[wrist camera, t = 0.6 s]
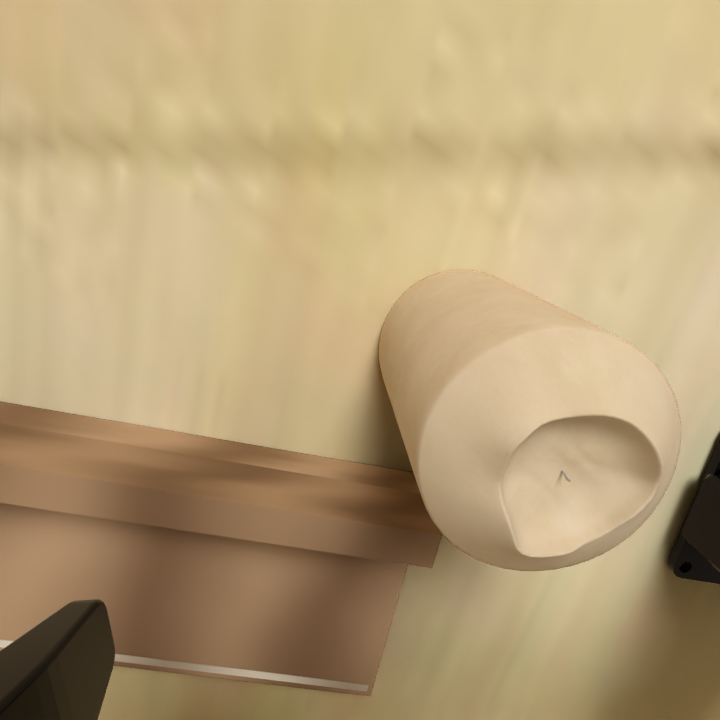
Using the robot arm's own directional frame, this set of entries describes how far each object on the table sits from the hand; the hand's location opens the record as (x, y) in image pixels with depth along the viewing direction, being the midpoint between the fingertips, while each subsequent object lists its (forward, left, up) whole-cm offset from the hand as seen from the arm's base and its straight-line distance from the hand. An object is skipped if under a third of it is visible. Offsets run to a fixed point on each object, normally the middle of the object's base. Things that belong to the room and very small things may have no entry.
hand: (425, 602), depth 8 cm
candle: (-3, -1, -12) cm, 13 cm away
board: (+5, +8, -12) cm, 16 cm away
